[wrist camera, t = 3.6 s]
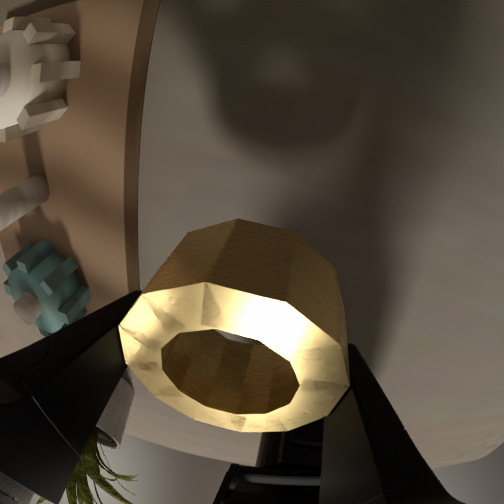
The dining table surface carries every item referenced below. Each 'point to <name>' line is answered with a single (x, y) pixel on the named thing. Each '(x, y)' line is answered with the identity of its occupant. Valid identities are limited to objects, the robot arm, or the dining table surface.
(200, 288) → the hollow tan sleeve
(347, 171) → the dining table surface
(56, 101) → the gear board
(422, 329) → the dining table surface
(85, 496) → the house plant
